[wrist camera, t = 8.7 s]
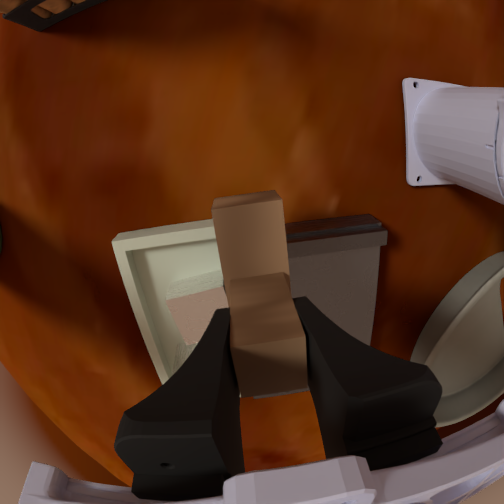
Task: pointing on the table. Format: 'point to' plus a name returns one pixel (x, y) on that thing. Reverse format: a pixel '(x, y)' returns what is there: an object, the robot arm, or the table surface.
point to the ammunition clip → (42, 11)
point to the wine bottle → (0, 240)
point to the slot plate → (337, 270)
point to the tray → (163, 279)
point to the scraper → (259, 294)
